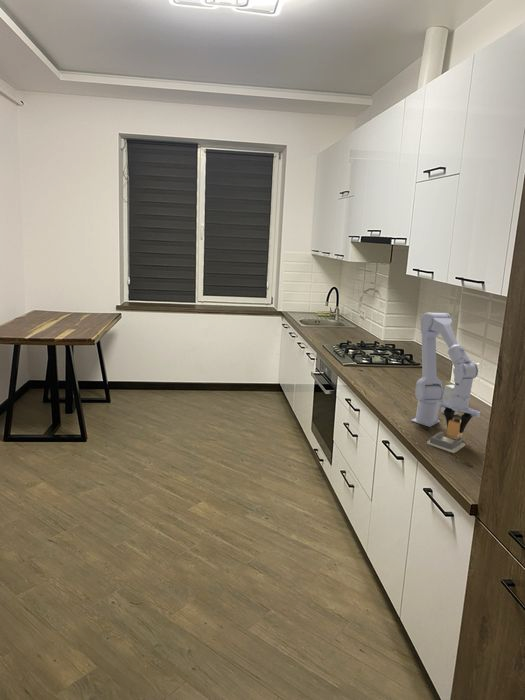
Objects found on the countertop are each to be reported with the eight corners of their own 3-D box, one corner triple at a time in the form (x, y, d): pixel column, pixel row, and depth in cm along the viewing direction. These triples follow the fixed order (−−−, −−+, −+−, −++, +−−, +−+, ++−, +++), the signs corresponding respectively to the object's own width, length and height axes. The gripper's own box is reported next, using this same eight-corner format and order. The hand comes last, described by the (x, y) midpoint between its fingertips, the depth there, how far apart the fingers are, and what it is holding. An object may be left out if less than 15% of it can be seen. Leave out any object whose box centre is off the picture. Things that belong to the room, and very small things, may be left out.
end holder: (438, 437, 191) (439, 429, 190) (464, 445, 184) (466, 438, 184) (426, 443, 183) (427, 436, 183) (453, 453, 177) (455, 445, 176)
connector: (454, 429, 193) (456, 414, 192) (464, 432, 191) (467, 417, 189) (446, 434, 188) (449, 418, 186) (457, 437, 185) (459, 421, 184)
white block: (447, 415, 216) (452, 388, 213) (440, 412, 220) (444, 384, 217) (458, 414, 218) (463, 387, 215) (451, 411, 222) (455, 384, 219)
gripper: (437, 391, 187) (431, 426, 190) (477, 402, 177) (470, 439, 180) (445, 388, 192) (439, 422, 195) (484, 398, 183) (478, 434, 186)
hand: (455, 430), depth 188 cm, fingers closed on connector, 4 cm apart
